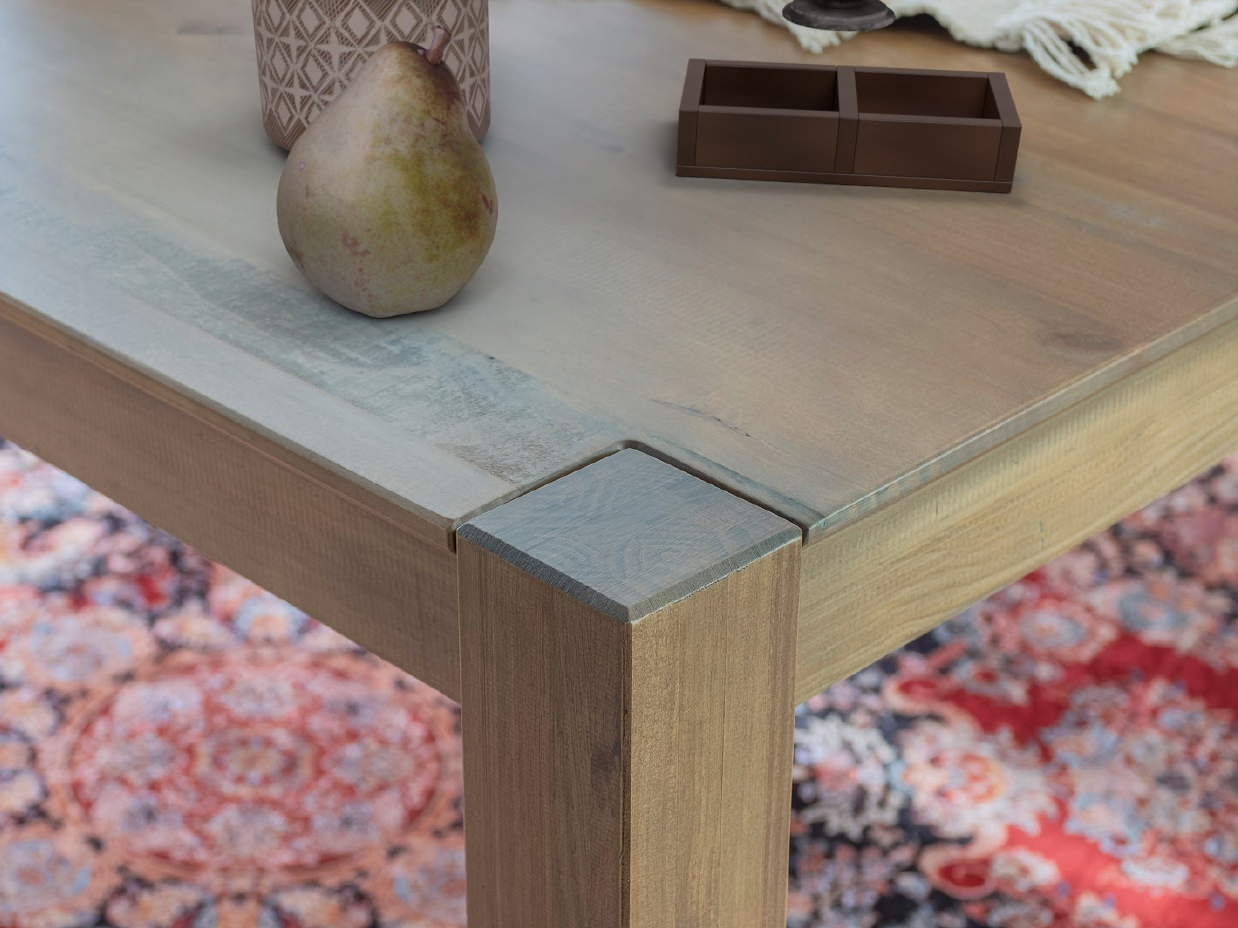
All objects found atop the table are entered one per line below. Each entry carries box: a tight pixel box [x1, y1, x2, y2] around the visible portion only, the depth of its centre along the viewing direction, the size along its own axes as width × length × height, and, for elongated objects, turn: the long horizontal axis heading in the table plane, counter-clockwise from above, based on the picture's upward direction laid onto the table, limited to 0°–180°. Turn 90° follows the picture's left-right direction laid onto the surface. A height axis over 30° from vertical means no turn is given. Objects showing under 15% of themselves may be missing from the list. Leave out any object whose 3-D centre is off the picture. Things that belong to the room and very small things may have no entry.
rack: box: [675, 57, 1023, 194], centre depth 92 cm, size 18×10×4 cm, turn 84°
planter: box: [250, 0, 491, 152], centre depth 91 cm, size 13×13×10 cm
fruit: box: [276, 25, 499, 319], centre depth 73 cm, size 10×9×12 cm
